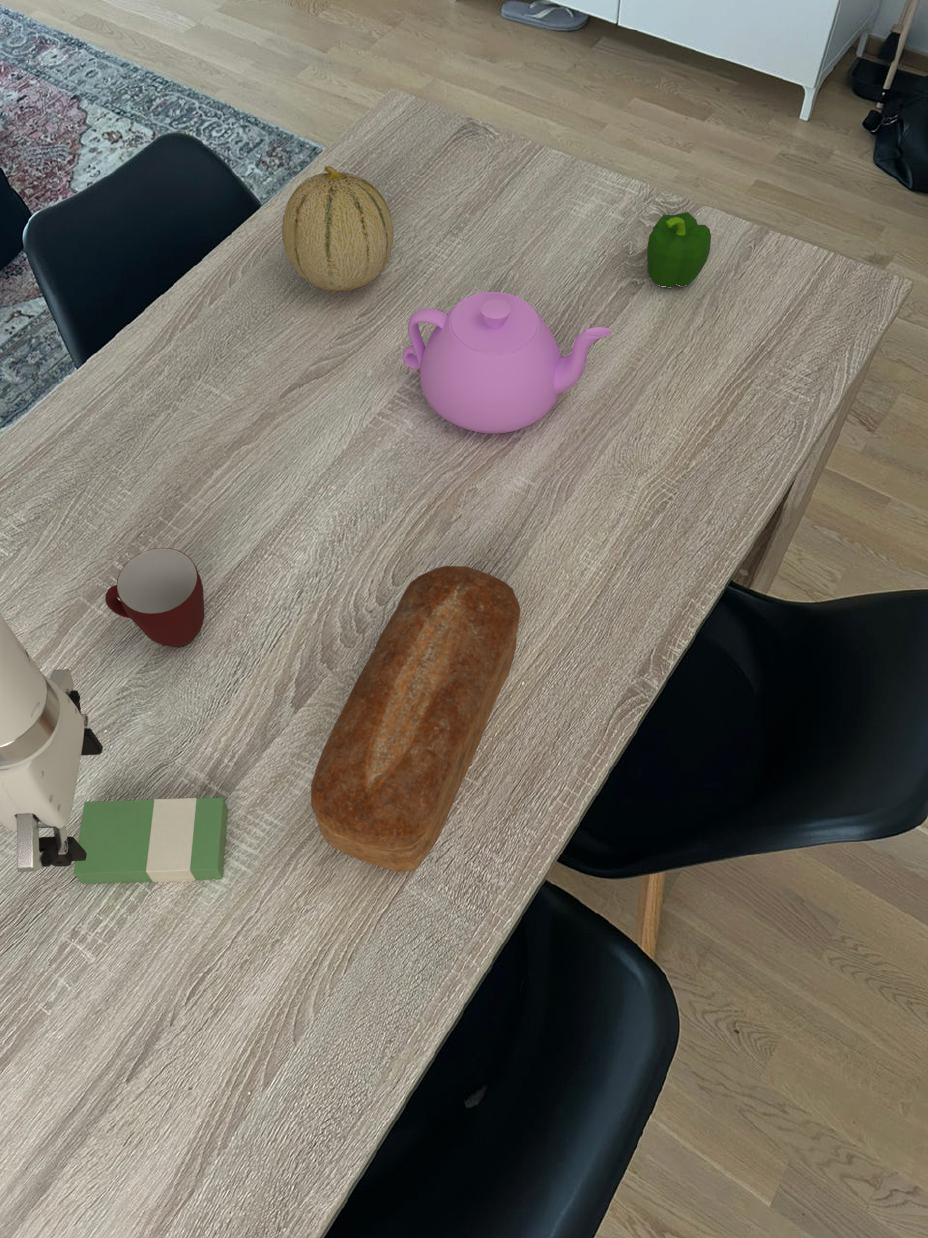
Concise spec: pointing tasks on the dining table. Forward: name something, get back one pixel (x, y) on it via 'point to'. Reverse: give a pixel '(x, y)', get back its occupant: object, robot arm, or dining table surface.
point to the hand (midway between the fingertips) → (77, 803)
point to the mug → (160, 596)
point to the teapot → (493, 362)
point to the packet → (152, 840)
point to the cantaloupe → (337, 231)
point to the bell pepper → (677, 250)
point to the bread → (416, 718)
